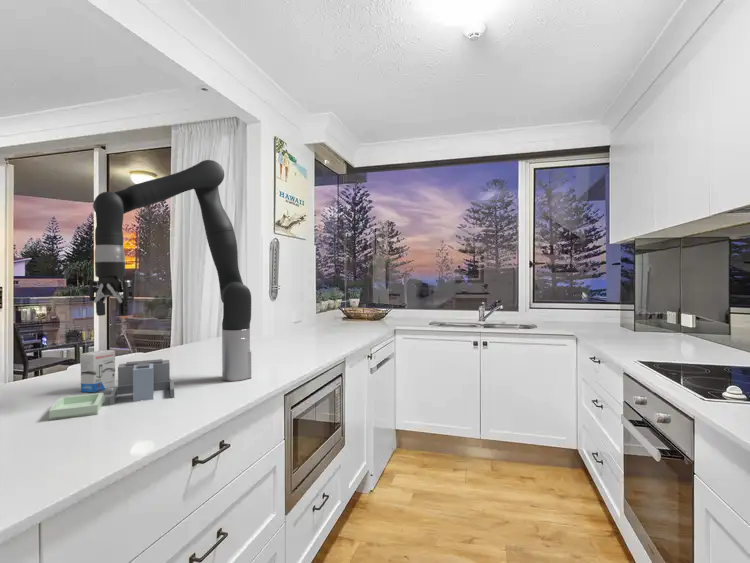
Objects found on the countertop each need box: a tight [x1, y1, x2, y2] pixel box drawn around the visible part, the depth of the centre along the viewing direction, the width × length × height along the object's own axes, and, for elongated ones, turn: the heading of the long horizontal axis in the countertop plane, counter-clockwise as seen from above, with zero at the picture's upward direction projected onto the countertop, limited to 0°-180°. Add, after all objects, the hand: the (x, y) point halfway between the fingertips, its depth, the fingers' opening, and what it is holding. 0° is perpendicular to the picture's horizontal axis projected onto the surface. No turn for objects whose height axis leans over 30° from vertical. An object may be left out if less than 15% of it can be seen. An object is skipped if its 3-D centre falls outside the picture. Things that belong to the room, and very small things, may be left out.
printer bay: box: [109, 358, 175, 406], centre depth 126 cm, size 16×18×9 cm
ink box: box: [80, 349, 116, 393], centre depth 131 cm, size 9×5×12 cm, turn 168°
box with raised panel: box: [132, 363, 154, 402], centre depth 122 cm, size 5×8×10 cm, turn 27°
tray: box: [48, 392, 105, 421], centre depth 110 cm, size 10×13×2 cm
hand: (112, 315), depth 123 cm, fingers open, 8 cm apart
